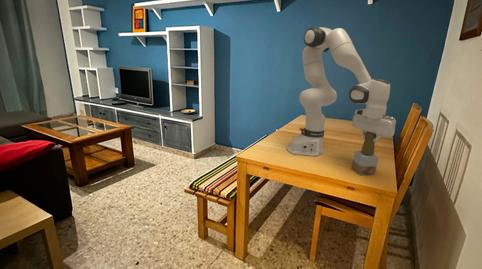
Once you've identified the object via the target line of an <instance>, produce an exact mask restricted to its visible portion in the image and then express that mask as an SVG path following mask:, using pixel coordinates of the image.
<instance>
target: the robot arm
mask: <svg viewBox="0 0 482 269" xmlns="http://www.w3.org/2000/svg"><path fill="white" fill-rule="evenodd" d="M303 42H304V45H306V47H305V48H304V49H303V50H302V66H303V67H302V68H303V72H304V78H305V81H306V82H307V83H309V85H310V86H311V87H310V88H307V89H304V90H302V91H301V92H300V93H299V100H298V101H299V103H300V105H301V106H302V107H303V109H304V112H305V126H304V128H303V127H299V131H300V132H301V133H299V134H298V135H296V136H294V137H293V138H292V139H291V142H290V144H287V145H286V150H287V152H289V153H290V154H292V155H298V156H299V155H300V156H309V157H318V156H319V155H322V154H324V147H323V145H324V144H323V143H324V142H323V139H324V137H325V123H326V116H325V114H323V112H322V107H326V106H330V105H333V104H334V103H335V102H337V98H338V94H337V93H338V92H337V91H336V90H335V89H334V88H332V86H331V85H330V83H329V81H328V79H327V76H326V72H325V68H324V61H323V57H322V54H323V53H327V52H328V51H329V52H330V54H331V56H332V59H333V61H334V62H335V63H336V64H337V66H340V67H342V68H345V69H347V70H348V71H350V72H352V73H353V74H354V76H355V77H356V80H357V82H358V83H359V84H356V85H355V84H354V85H353V86H352V87H350V89H349V91H348V98H349V101H350V102H351V103H353V104H357V105H361V104H363V105H364V104H365V108H359V109H356V110H355V112H354V115H353V118H352V122H351V126H352V128H355V129H359V130H361V131H360V132H361V135H362V137H361V138H362V139H363V140H365V138H366V137H365V133H366V132H367V131H368V132H372V133H376V136H377V137H376V138H374V139H373V142H375V144H376V143H378V141H379V139H380V138H381V137H387V138H390V137H391V138H392V137H393V136H394V135H395V131H396V124H397V120H396V118H395V117H393V116H388V115H386V112H387V106H388V105H387V103H388V101H389V99H390V93H391V83H390V82H389V81H388V80H386V79H383V78H373V77H372V76H371V73H370V71H369V70H368V68H367V67H366V64H365V63H364V61H363V60H362V58H361V57H360V55H359V53H358V51H357V50H356V48H355V46H354V43H353V41H352V39H351V38H350V36H349V34H348V32H347V31H346V30H345V29H344V28H342V27H336V28H334V29H333V28H329V27H325V26H324V27H323V26H321V27H320V26H311V27H309V28H307V29H306V30H305V32H304V34H303Z"/></svg>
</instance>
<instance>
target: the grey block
mask: <svg viewBox="0 0 482 269" xmlns="http://www.w3.org/2000/svg"><path fill="white" fill-rule="evenodd" d="M353 160H354V161H355V162H356V163H358V164H359V165H360V166H361V167H373V166H378V162H379V156H378V155H376V154H375V153H374V154H365V153H362V152H361V150H360V151H358V150H355V151H354V155H353V159H352V161H353Z"/></svg>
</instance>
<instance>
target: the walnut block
mask: <svg viewBox="0 0 482 269" xmlns="http://www.w3.org/2000/svg"><path fill="white" fill-rule="evenodd" d="M377 166H378V165H377ZM377 166H373V167H361V166H360V165H359V164H358V163H356V162H355V161H354V160H353V159H352V163H351V170H352V171H354V172H355V173H356V174H358V175H359V176H374V175H376V170H377Z"/></svg>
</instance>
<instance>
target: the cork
mask: <svg viewBox="0 0 482 269" xmlns="http://www.w3.org/2000/svg"><path fill="white" fill-rule="evenodd" d="M365 137H366V138H365V139H364V141H363V145H362V147H361V150H360V151H361V152H362V153H365V154H374V155H375V144H376V143H375V142H373V139H374V138H376V137H377V136H376V133H372V132H368V131H366V132H365Z"/></svg>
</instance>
